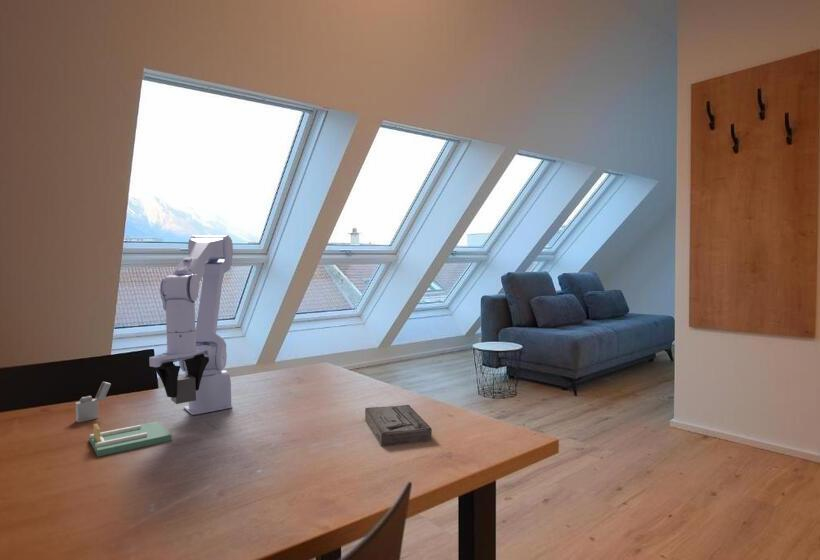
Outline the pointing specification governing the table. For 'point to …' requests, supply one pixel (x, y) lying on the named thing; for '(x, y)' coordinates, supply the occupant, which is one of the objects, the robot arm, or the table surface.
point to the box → (397, 425)
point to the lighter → (90, 404)
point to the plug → (185, 389)
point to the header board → (128, 438)
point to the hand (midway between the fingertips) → (183, 393)
